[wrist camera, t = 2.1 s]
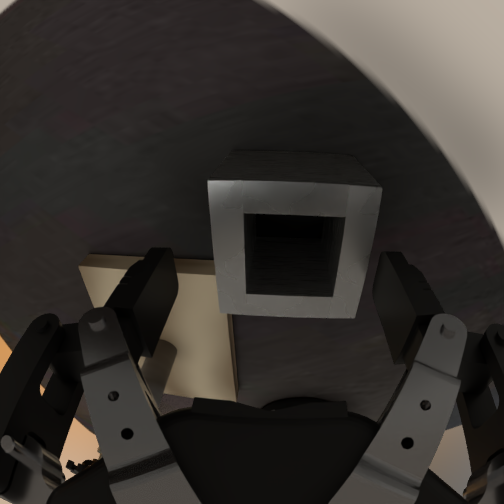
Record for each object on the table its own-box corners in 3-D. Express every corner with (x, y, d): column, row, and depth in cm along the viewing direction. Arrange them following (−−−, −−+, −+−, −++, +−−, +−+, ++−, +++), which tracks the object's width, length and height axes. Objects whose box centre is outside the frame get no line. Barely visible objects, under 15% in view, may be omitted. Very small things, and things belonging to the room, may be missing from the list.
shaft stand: (227, 261, 17) (186, 404, 9) (238, 389, 25) (223, 484, 17) (89, 254, 18) (9, 351, 10) (138, 374, 26) (106, 456, 18)
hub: (352, 155, 13) (382, 187, 9) (339, 258, 17) (354, 318, 12) (231, 150, 14) (207, 180, 10) (235, 253, 17) (219, 313, 13)
